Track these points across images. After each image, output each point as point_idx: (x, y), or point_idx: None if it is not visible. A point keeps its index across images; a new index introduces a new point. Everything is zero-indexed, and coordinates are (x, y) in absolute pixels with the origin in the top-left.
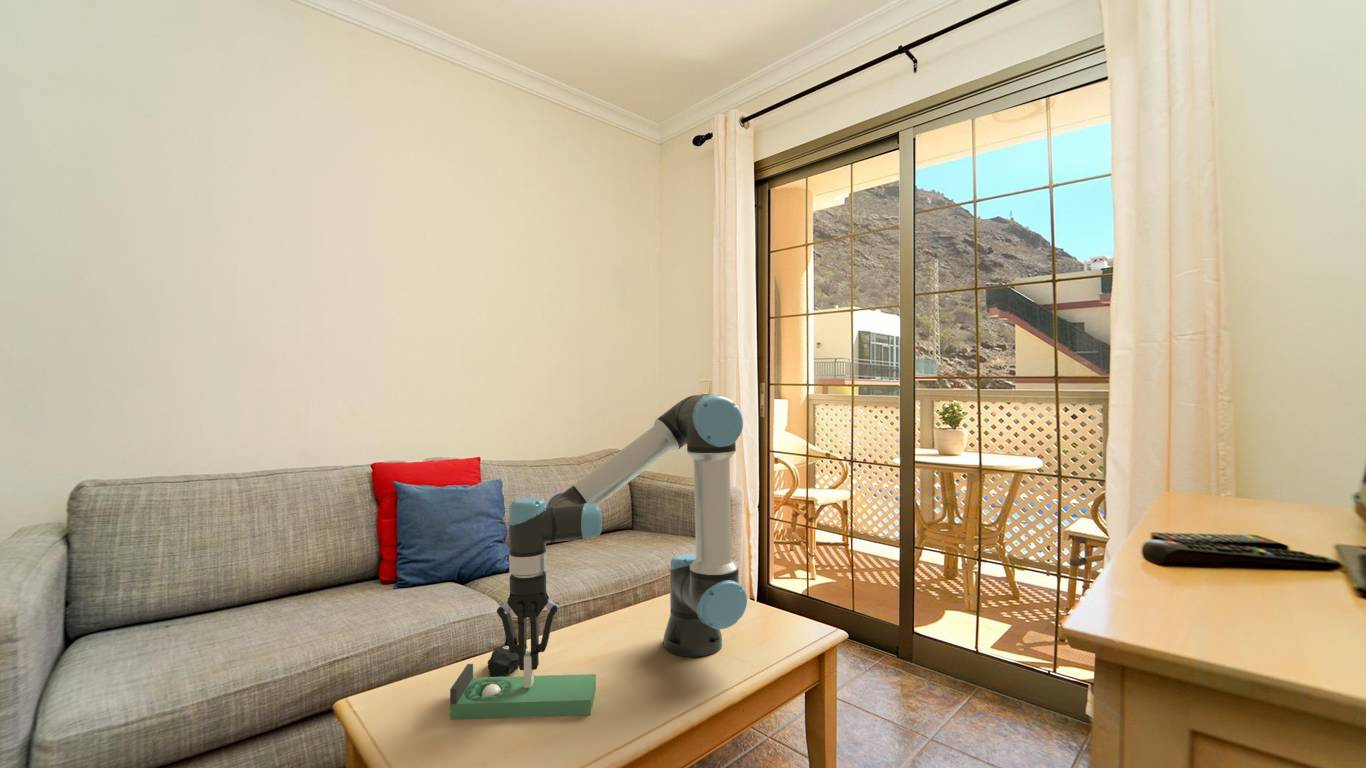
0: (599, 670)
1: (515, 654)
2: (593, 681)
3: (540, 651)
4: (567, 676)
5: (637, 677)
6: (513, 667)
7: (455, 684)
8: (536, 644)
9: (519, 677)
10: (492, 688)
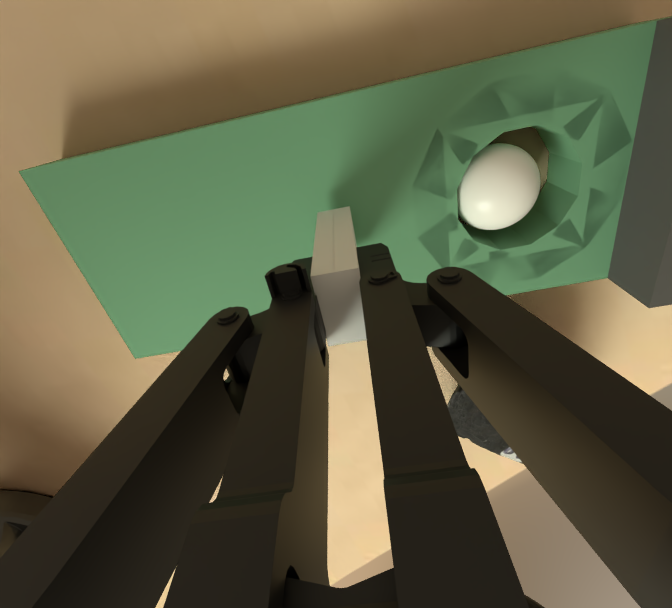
0: None
1: (474, 419)
2: (108, 311)
3: (254, 315)
4: None
5: (69, 394)
6: None
7: None
8: (263, 331)
9: None
10: (498, 178)
